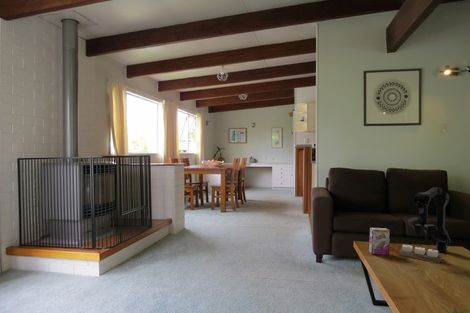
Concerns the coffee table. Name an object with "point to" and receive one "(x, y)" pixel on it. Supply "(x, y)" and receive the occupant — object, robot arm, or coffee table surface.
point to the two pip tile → (419, 250)
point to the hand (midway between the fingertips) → (421, 238)
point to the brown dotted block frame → (420, 256)
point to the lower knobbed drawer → (432, 253)
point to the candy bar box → (379, 241)
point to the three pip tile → (407, 248)
